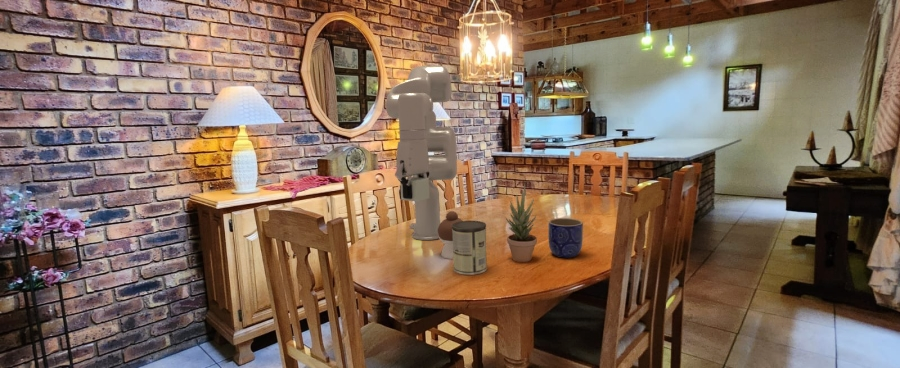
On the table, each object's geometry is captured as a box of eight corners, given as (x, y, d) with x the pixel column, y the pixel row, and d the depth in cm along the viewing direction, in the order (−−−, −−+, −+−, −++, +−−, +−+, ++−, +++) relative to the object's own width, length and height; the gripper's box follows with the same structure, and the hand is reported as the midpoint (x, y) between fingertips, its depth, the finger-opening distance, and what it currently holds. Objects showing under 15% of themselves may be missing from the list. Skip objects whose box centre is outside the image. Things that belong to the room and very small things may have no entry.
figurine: (438, 259, 148) (437, 214, 146) (438, 251, 158) (436, 209, 155) (468, 258, 149) (467, 213, 147) (466, 249, 158) (464, 207, 156)
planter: (546, 250, 155) (546, 218, 153) (578, 249, 154) (578, 217, 153) (551, 260, 144) (551, 226, 143) (586, 259, 144) (586, 225, 142)
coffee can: (459, 262, 145) (457, 219, 143) (490, 265, 142) (489, 221, 139) (448, 273, 135) (447, 227, 133) (481, 276, 132) (480, 229, 130)
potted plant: (530, 265, 140) (530, 186, 136) (502, 261, 145) (501, 185, 141) (542, 256, 148) (542, 182, 144) (515, 252, 153) (514, 180, 149)
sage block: (401, 199, 135) (400, 179, 134) (414, 196, 140) (413, 177, 139) (416, 201, 132) (415, 181, 131) (429, 198, 136) (428, 178, 135)
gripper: (421, 134, 142) (423, 190, 145) (382, 137, 128) (385, 200, 131) (440, 134, 137) (442, 192, 140) (402, 138, 124) (405, 203, 127)
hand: (415, 195), depth 136 cm, fingers closed on sage block, 6 cm apart
